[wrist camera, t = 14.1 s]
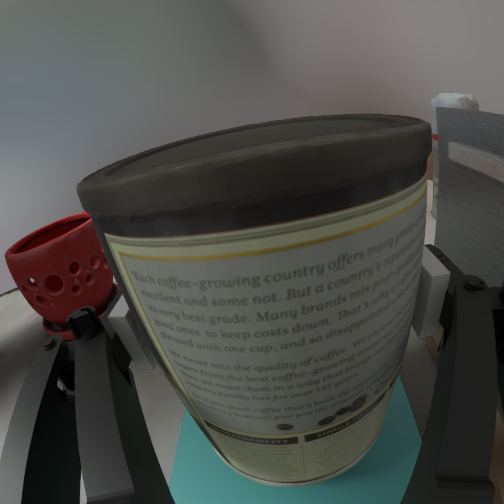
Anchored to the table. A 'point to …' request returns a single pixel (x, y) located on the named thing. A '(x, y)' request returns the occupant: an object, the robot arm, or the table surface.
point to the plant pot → (63, 271)
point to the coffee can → (274, 279)
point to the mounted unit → (473, 219)
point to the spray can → (441, 101)
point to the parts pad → (307, 497)
